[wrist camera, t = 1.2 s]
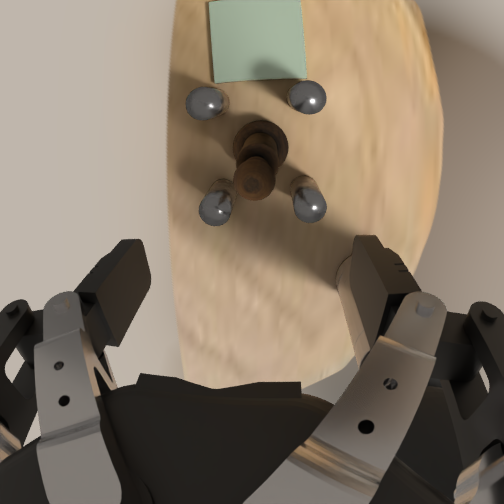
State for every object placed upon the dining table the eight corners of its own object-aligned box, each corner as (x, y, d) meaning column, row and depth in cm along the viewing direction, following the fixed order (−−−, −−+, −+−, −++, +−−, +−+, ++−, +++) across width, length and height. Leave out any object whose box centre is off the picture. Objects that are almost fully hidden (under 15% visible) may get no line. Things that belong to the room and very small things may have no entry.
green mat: (299, -2, 25) (299, -4, 24) (306, 78, 31) (306, 78, 30) (209, 3, 26) (208, 2, 25) (215, 83, 32) (214, 83, 31)
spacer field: (315, 84, 31) (325, 80, 25) (317, 201, 39) (326, 222, 32) (199, 90, 32) (184, 89, 26) (212, 205, 40) (201, 226, 34)
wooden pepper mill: (247, 177, 38) (229, 241, 22) (226, 133, 35) (188, 163, 19) (295, 158, 36) (315, 209, 20) (275, 112, 33) (279, 122, 18)
